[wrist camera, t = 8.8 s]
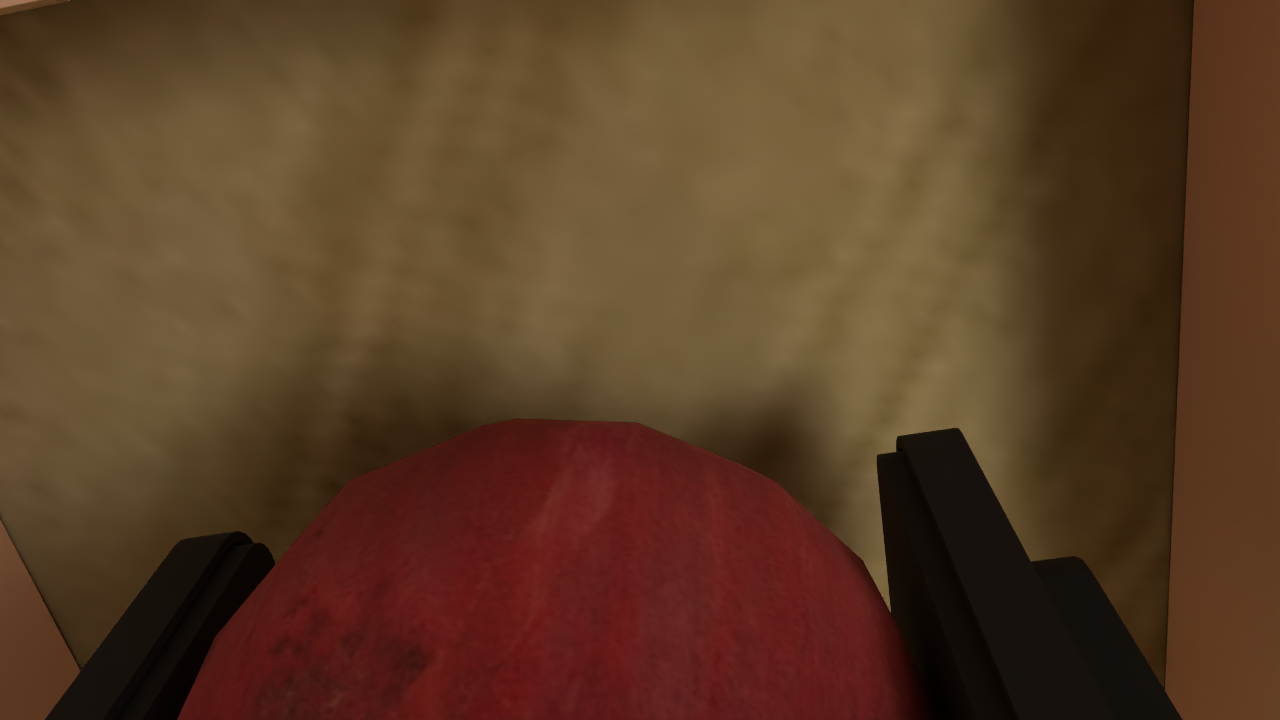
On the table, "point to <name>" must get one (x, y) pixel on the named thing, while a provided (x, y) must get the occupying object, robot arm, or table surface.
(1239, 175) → the terracotta crate
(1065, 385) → the table surface
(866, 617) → the onion
